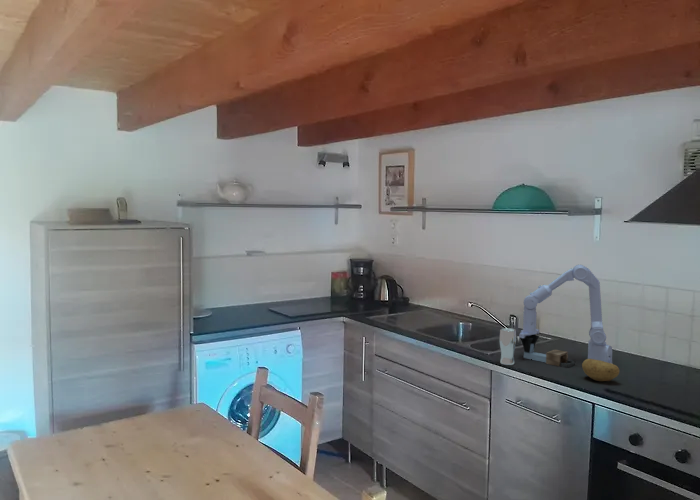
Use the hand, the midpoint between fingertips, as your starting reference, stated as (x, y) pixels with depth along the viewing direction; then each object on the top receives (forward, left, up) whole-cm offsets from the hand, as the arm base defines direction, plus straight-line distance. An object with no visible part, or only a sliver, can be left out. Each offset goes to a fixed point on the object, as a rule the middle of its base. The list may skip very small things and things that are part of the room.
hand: (528, 351), depth 264 cm
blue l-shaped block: (-5, 0, -3) cm, 5 cm away
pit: (-18, 0, -3) cm, 19 cm away
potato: (-37, +12, -3) cm, 39 cm away
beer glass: (+2, +16, -3) cm, 16 cm away
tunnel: (-13, 0, -3) cm, 14 cm away
